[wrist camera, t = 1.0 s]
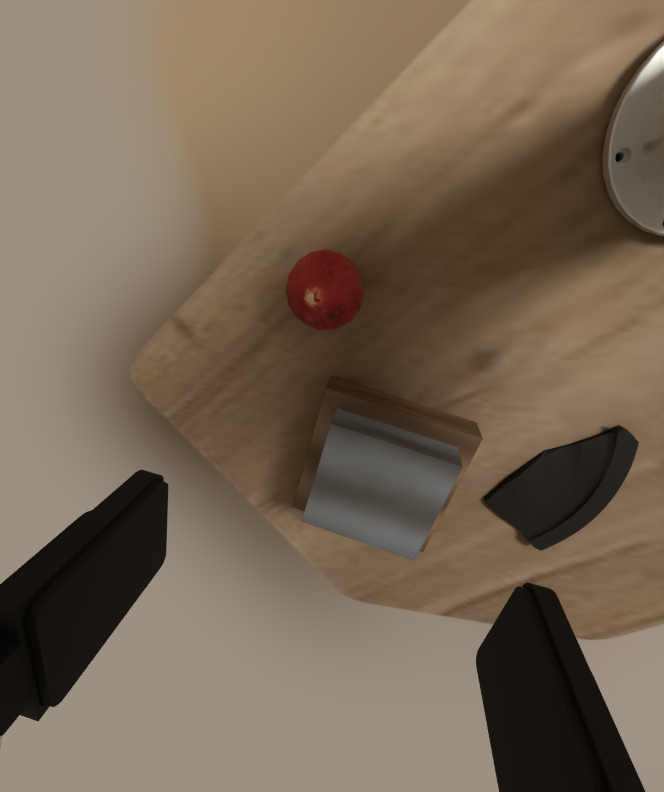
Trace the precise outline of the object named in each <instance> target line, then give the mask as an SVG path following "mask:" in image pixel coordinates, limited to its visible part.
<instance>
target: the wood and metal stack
mask: <svg viewBox="0 0 664 792" xmlns="http://www.w3.org/2000/svg"><path fill="white" fill-rule="evenodd" d="M481 441H482V436H481V434H480V431H479V428H478V425H477V423H476V422H473V421H470V420H466V419H463V418H460V417H457V416H454V415H451V414H448V413H445V412H442V411H438V410H435V409H432V408H429V407H426V406H423V405H420V404H417V403H414V402H411V401H407V400H404V399H401V398H398V397H395V396H392V395H389V394H386V393H383V392H380V391H376V390H373V389H370V388H367V387H364V386H361V385H358V384H355V383H352V382H349V381H345V380H342V379H339V378H336V377H333V376H332V378H331V379H330V381H329V383H328V385H327V387H326V389H325V392H324V396H323V399H322V403H321V407H320V410H319V414H318V417H317V421H316V424H315V428H314V432H313V435H312V439H311V442H310V446H309V449H308V453H307V456H306V460H305V464H304V467H303V471H302V474H301V478H300V481H299V485H298V489H297V492H296V496H295V499H294V503H293V506H292V507H295V508H298V509H301V510H304V511H305V512H304V515H303V518H302V521H303V522H305V523H308V524H311V525H314V526H317V527H320V528H322V529H325V530H328V531H331V532H334V533H337V534H340V535H342V536H345V537H348V538H351V539H354V540H357V541H359V542H362V543H365V544H368V545H371V546H374V547H377V548H379V549H382V550H385V551H388V552H391V553H394V554H396V555H399V556H402V557H405V558H408V559H411V560H415V558H416V556H417V554H418V553H419V551H421V552H423V551H424V549H425V547H426V545H427V544H428V542H429V540H430V538H431V536H432V534H433V532H434V530H435V528H436V526H437V524H438V523H439V521H440V519H441V517H442V515H443V513H444V511H445V509H446V507H447V505H448V504H449V502H450V500H451V498H452V496H453V494H454V492H455V490H456V488H457V486H458V485H459V483H460V481H461V479H462V477H463V475H464V473H465V471H466V469H467V467H468V466H469V464H470V462H471V460H472V458H473V456H474V454H475V452H476V450H477V448H478V446H479V445H480V443H481Z"/></svg>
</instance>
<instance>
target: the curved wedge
mask: <svg viewBox="0 0 664 792" xmlns="http://www.w3.org/2000/svg"><path fill="white" fill-rule="evenodd" d="M638 443H639V442H638V441H637V440H636V439H635V437H634V436H633V435H632V434H631V433H630V432H629V431H628V430H626V429H625V428H623V427H621V426H620V425H619V426H617V427H615V428H612V429H610V430H608V431H606V432H603V433H601V434H598V435H596V436H594V437H591V438H588V439H585V440H582V441H578V442H575V443H571V444H568V445H564V446H560V447H556V448H552V449H548V450H544V451H543V452H542V453H540V454H539V455H538V456H536V457H535V458H533V459H532V460H530V461H529V462H528V463H526V464H525V465H523V466H522V467H520V468H519V469H518V470H517V471H515V472H514V473H513V474H511V475H510V476H509V477H507V478H506V479H505V480H504V481H503V482H502V483H500V484H499V485H498V486H497V487H496V488H495V489H493V490H492V491H491V492H490V493H489V494H488V495H486V496H485V497H484V499H485V502H486V503H487V504H488V505H489V506H490V507H491V508H492V509H493V510H494V511H495V512H496V513H497V514H498V515H500V516H501V517H502V518H503V519H505V520H506V521H508V522H509V523H511V524H512V525H514V526H515V527H517V528H518V529H519V530H521V532H522V533H523V534H524V536H525V537H526V538H527V539H528V541H529V542H530V543H531V544H532V546H533V547H534V548H537V549H539V550H544V549H546V548H548V547H550V546H553V545H555V544H557V543H559V542H561V541H562V540H564V539H566V538H568V537H569V536H571V535H573V534H574V533H576V532H577V531H579V530H580V529H582V528H583V527H584V526H586V525H587V524H588V523H589V522H591V521H592V520H593V519H594V518H595V517H596V516H597V515H598V514H599V513H600V512H601V511H602V510H603V509H604V508H605V507H606V506H607V504H608V503H609V502H610V501H611V499H612V498H613V497H614V495H615V494H616V493H617V491H618V490H619V488H620V486H621V485H622V483H623V481H624V480H625V478H626V476H627V474H628V472H629V470H630V468H631V466H632V463H633V460H634V457H635V454H636V451H637V447H638Z"/></svg>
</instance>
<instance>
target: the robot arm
mask: <svg viewBox="0 0 664 792" xmlns="http://www.w3.org/2000/svg"><path fill="white" fill-rule="evenodd" d="M616 154H619V155H620V160H619V161H618V162H616V159H615V157H616ZM602 159H603V177H604V181H605V184H606V188H607V192H608V195H609V197H610V198H611V200H612V202H613V204H614V206H615V207H616V209H617V210H618V211H619V212H620V213H621V214H622V216H623V217H624V218H625V219H626V220H627V221H628V222H630V223H631V224H633V225H635V226H636V227H638V228H639V229H641V230H643V231H646V232H649V233H652V234H655V235H658V236H664V225H662V223H663V220H664V41H663V42H662V43H661V44H660V45H659V46H658V47H657V48H656V49H655V50H654V51H653V52H652V53H651V54H650V56H649V57H648V58H647V59H646V60H645V61H644V62H643V63H642V65H641V66H640V67H639V68H638V70H637V71H636V73H635V74H634V75H633V77H632V78H631V80H630V81H629V83H628V84H627V86H626V87H625V89H624V90H623V92H622V94H621V97H620V99H619V101H618V103H617V105H616V107H615V109H614V111H613V113H612V116H611V119H610V122H609V126H608V129H607V132H606V135H605V142H604V149H603V156H602ZM167 508H168V484H167V483H165V482H164V480H163V476H161V475H158V474H154V473H151V472H148V471H144V470H139V471H138V472H136V473H135V474H133V475H132V476H131V477H130V478H129V479H128V480H127V481H125V482H124V483H123V484H122V485H121V486H120V487H118V488H117V489H116V490H115V491H114V492H113V493H112V494H110V495H109V496H108V497H107V498H106V499H105V500H104V501H102V502H101V503H100V504H99V505H98V506H97V507H95V508H94V509H93V510H91V511H89V512H86V513H85V514H83V515H82V516H80V517H79V518H78V519H77V520H75V521H74V522H73V523H72V524H71V525H69V526H68V527H67V528H66V529H65V530H64V531H63V532H61V533H60V534H59V535H58V536H57V537H56V538H54V539H53V540H52V541H51V542H50V543H48V544H47V545H46V546H45V547H44V548H42V550H40V551H39V552H38V553H37V554H35V556H33V557H32V558H31V559H30V560H28V561H27V562H26V563H25V564H24V565H23V566H21V567H20V568H19V569H18V570H17V571H16V572H15V573H13V574H12V575H11V576H10V577H8V578H7V579H6V580H5V581H4V582H3V583H2V584H0V746H1V738H2V735H3V734H5V732H6V731H7V730H8V728H9V727H10V726H11V725H12V724H13V722H14V721H15V720H16V719H17V717H18V716H19V715H22V716H24V717H27V718H30V719H33V720H36V721H39V720H40V718H41V717H42V716H43V714H44V713H45V712H46V710H47V709H48V708H49V707H50V706H51V707H55V706H56V705H58V704H59V703H60V702H61V701H62V700H63V699H64V697H65V696H66V695H67V693H68V692H69V691H70V690H71V688H72V687H73V685H74V684H75V683H76V681H77V680H78V679H79V677H80V676H81V675H82V673H83V672H84V671H85V669H86V668H87V667H88V665H89V664H90V662H91V661H92V660H93V658H94V657H95V656H96V654H97V653H98V652H99V650H100V649H101V647H102V646H103V645H104V644H105V642H106V641H107V639H108V638H109V637H110V635H111V634H112V633H113V631H114V630H115V629H116V627H117V626H118V625H119V623H120V622H121V620H122V619H123V618H124V616H125V615H126V614H127V612H128V611H129V609H130V608H131V607H132V605H133V604H134V603H135V601H136V600H137V599H138V597H139V596H140V595H141V593H142V592H143V591H144V589H145V588H146V587H147V585H148V584H149V583H150V581H151V580H152V578H153V577H154V576H155V574H156V573H157V572H158V570H159V569H160V567H161V566H162V564H163V562H164V559H165V557H166V540H167V510H168V509H167ZM476 667H477V672H478V678H479V683H480V689H481V694H482V700H483V705H484V711H485V716H486V722H487V727H488V733H489V738H490V744H491V749H492V755H493V759H494V766H495V771H496V777H497V782H498V787H499V792H645V790H644V788H643V785H642V783H641V781H640V779H639V777H638V774H637V772H636V770H635V768H634V765H633V763H632V761H631V759H630V757H629V754H628V752H627V750H626V748H625V745H624V743H623V741H622V739H621V737H620V734H619V732H618V730H617V728H616V725H615V723H614V721H613V719H612V717H611V714H610V712H609V710H608V708H607V705H606V703H605V701H604V699H603V697H602V694H601V692H600V690H599V688H598V685H597V683H596V681H595V679H594V676H593V674H592V672H591V671H590V669H589V666H588V664H587V662H586V660H585V657H584V655H583V653H582V651H581V648H580V646H579V644H578V642H577V639H576V637H575V635H574V633H573V630H572V628H571V626H570V624H569V622H568V619H567V617H566V615H565V613H564V610H563V608H562V606H561V604H560V601H559V599H558V597H557V595H556V593H555V592H554V591H553V590H552V589H549V588H545V587H542V586H538V585H535V584H531V583H525V584H524V585H523V586H522V587H520V586H518V587H516V589H515V590H514V592H513V593H512V595H511V596H510V598H509V600H508V601H507V603H506V605H505V606H504V608H503V610H502V611H501V613H500V615H499V616H498V618H497V620H496V621H495V623H494V624H493V626H492V628H491V630H490V631H489V633H488V634H487V636H486V638H485V639H484V641H483V643H482V644H481V646H480V648H479V649H478V652H477V656H476Z"/></svg>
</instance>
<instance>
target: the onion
mask: <svg viewBox="0 0 664 792" xmlns="http://www.w3.org/2000/svg"><path fill="white" fill-rule="evenodd" d="M286 294H287V299H288V305H289V306H290V308H291V310H292V311H293V313H294V315H295V316H296V317H297V318H298V319H299V320H300V321H302V322H303V323H304V324H305V325H306V326H309V327H312V328H315V329H317V330H330V329H336V328H338V327H340V326H342V325H344V324H346V323H347V322H349V321H351V319H352V318H353V317H354V315H355V314H356V312H357V311H358V310H359V308H360V305H361V300H362V295H363V287H362V281H361V276H360V274H359V273H358V271H357V269H356V268H355V266H354V264H353V263H352V262H351V261H350V260H348V259H347V258H346V257H345V256H343V255H342V254H341V253H338V252H334V251H330V250H326V249H325V250H320V251H315V252H311V253H309V254H308V255H306V256H305V257H303V258H302V259H300V260H299V261H298V262H297V263H296V265H295V266H294V268H293V269H292V271H291V272H290V274H289V277H288V282H287V287H286Z"/></svg>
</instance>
